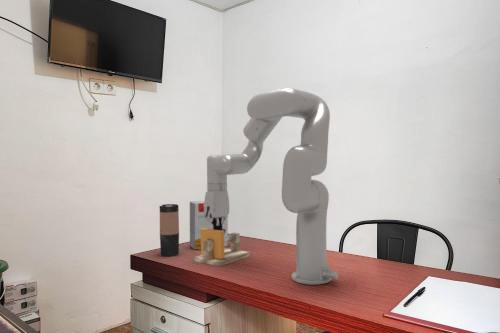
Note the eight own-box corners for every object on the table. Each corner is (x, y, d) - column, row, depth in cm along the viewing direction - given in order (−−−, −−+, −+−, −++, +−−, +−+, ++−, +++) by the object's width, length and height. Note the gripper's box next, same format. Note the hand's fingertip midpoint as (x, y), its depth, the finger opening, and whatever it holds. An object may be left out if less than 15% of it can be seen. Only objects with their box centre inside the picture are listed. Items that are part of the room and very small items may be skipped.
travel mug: (182, 254, 156) (181, 205, 156) (164, 257, 152) (163, 206, 152) (174, 251, 163) (174, 203, 162) (157, 253, 158) (156, 205, 158)
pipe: (238, 240, 156) (238, 233, 156) (209, 248, 142) (209, 241, 142) (233, 239, 157) (233, 233, 157) (204, 247, 144) (204, 240, 144)
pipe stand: (249, 255, 153) (249, 234, 153) (219, 266, 139) (219, 243, 139) (224, 251, 161) (224, 231, 161) (193, 261, 147) (193, 238, 146)
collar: (224, 257, 143) (224, 230, 143) (220, 258, 142) (220, 231, 141) (204, 254, 149) (204, 228, 149) (201, 255, 148) (200, 228, 147)
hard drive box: (193, 250, 164) (193, 203, 163) (189, 246, 171) (188, 201, 170) (228, 246, 170) (227, 201, 169) (222, 243, 177) (222, 199, 176)
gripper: (222, 185, 156) (223, 231, 156) (196, 188, 144) (196, 237, 144) (237, 186, 151) (237, 233, 152) (211, 189, 139) (211, 240, 140)
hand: (217, 235), depth 148 cm, fingers closed
